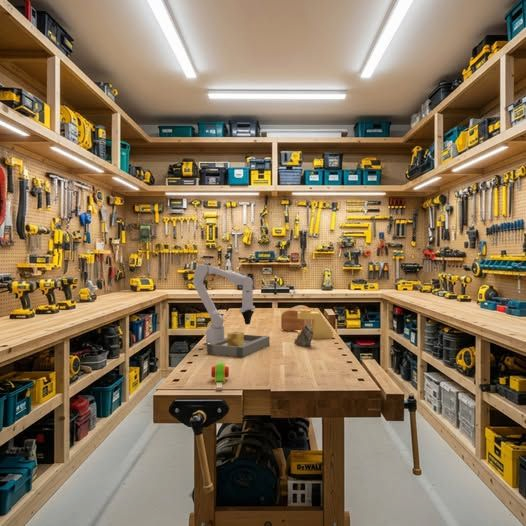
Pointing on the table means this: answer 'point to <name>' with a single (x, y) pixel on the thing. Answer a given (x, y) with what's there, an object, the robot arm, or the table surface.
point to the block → (235, 338)
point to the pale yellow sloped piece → (316, 324)
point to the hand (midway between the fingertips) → (247, 324)
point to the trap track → (249, 346)
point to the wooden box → (294, 319)
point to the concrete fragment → (305, 337)
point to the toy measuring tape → (219, 374)
